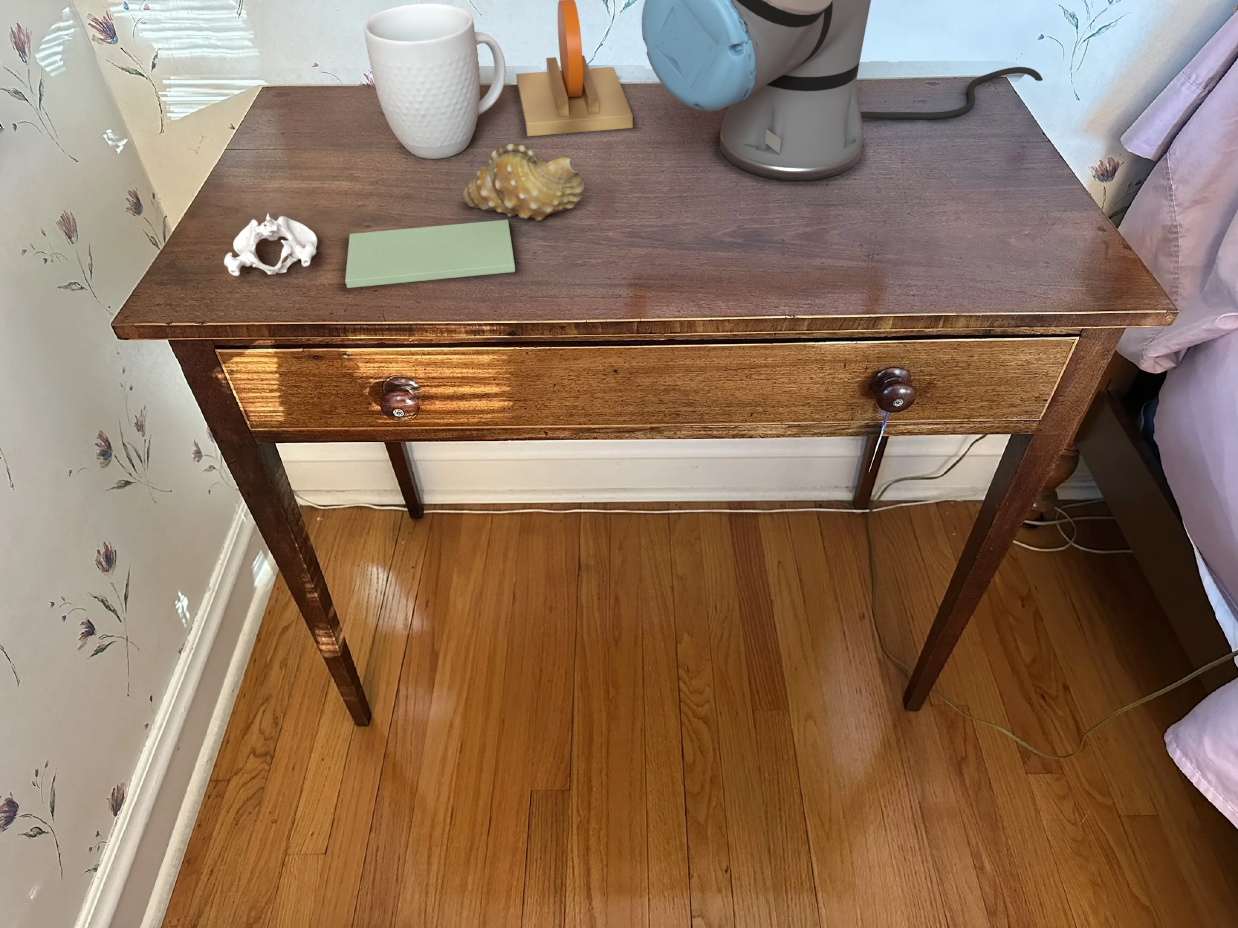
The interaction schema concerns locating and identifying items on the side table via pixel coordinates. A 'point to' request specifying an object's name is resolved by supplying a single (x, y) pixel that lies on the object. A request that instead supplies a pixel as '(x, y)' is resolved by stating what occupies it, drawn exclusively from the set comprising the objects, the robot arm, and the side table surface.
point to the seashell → (524, 184)
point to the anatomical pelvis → (296, 247)
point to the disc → (570, 48)
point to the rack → (572, 102)
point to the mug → (430, 75)
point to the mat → (429, 253)
